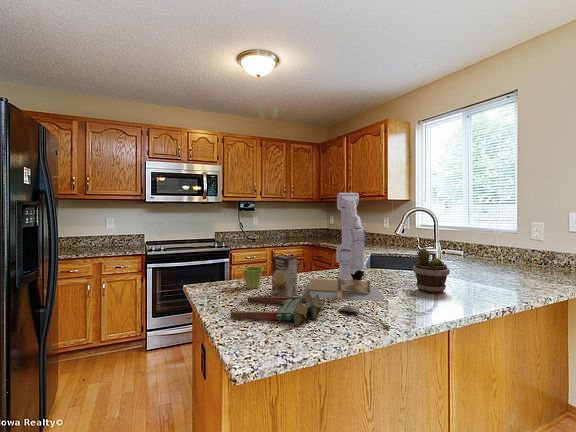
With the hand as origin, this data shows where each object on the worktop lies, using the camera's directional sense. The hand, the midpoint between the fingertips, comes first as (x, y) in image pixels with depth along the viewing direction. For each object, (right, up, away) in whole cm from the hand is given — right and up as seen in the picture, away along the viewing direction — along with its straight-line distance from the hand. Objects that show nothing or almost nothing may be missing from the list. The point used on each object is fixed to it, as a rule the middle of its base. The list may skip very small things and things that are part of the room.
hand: (356, 287), depth 137 cm
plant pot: (-46, -2, +8) cm, 47 cm away
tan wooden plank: (-1, -1, -1) cm, 2 cm away
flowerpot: (+33, -2, +3) cm, 33 cm away
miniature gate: (-32, -3, -27) cm, 42 cm away
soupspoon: (-5, -3, -32) cm, 33 cm away
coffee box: (-31, -2, -4) cm, 32 cm away
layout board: (-7, -2, -2) cm, 7 cm away
